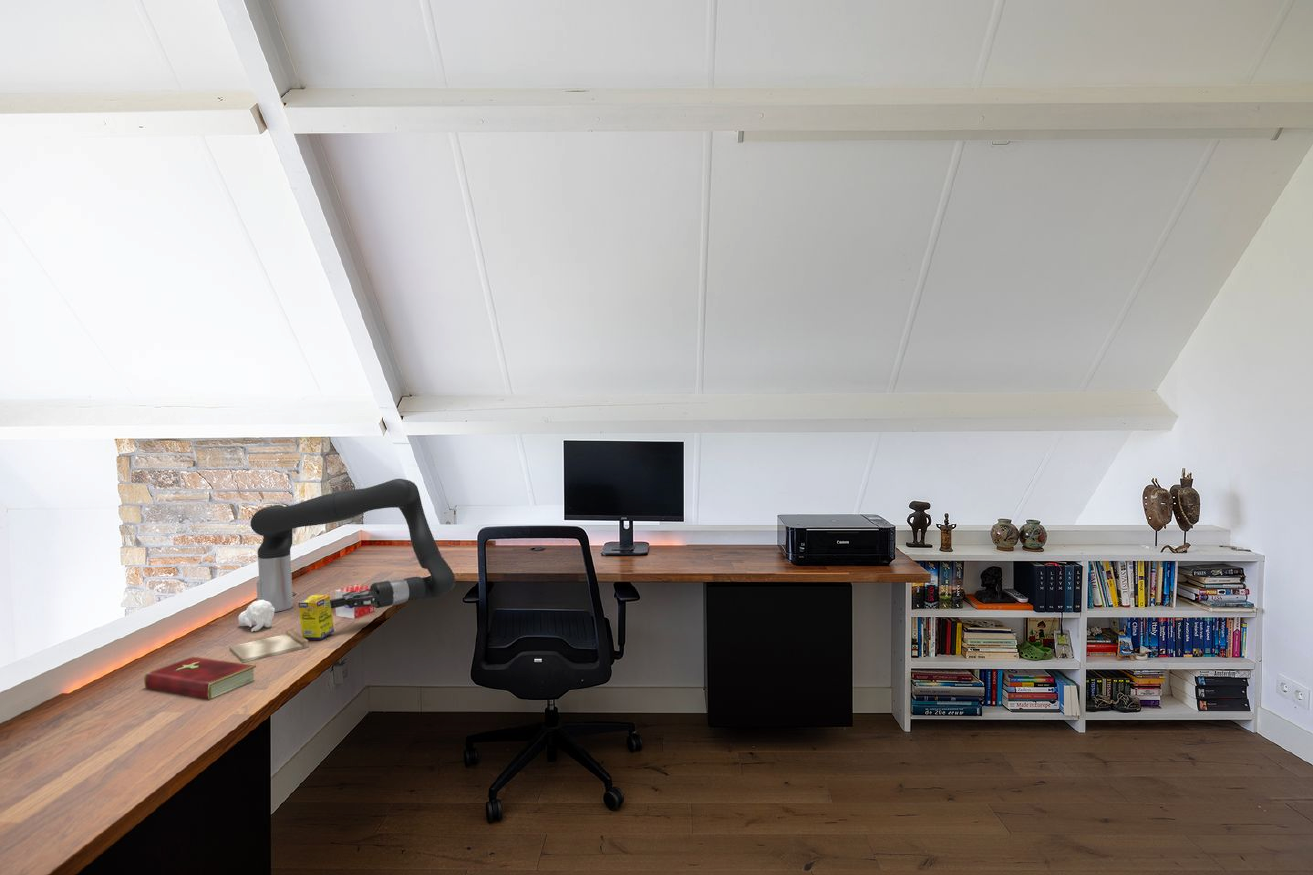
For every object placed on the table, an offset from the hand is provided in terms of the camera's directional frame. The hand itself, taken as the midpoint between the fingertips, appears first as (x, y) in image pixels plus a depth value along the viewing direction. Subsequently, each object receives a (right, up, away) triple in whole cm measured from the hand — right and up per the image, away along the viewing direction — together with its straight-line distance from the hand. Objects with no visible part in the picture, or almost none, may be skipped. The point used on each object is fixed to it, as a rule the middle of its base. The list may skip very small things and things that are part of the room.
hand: (329, 604), depth 201 cm
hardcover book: (-14, -11, -34) cm, 39 cm away
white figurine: (-26, -9, +8) cm, 29 cm away
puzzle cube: (-2, -8, +21) cm, 22 cm away
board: (-12, -9, -11) cm, 19 cm away
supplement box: (-2, -9, -2) cm, 9 cm away
